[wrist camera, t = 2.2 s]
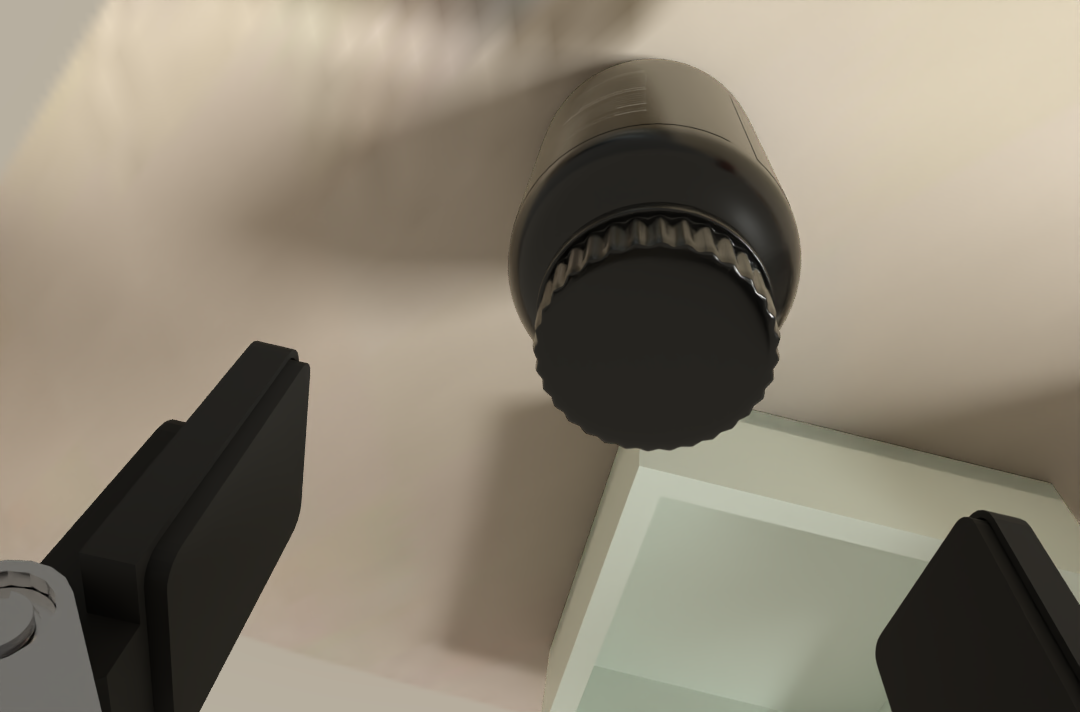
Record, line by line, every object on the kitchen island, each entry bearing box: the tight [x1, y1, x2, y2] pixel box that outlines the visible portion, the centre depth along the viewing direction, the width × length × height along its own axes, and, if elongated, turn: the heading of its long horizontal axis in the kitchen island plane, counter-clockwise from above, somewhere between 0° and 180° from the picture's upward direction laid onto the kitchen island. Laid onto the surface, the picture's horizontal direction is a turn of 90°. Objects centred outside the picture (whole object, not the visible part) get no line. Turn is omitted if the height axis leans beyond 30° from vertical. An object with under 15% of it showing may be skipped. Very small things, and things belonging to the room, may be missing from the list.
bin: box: [542, 410, 1080, 712], centre depth 32 cm, size 16×16×5 cm
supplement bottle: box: [508, 59, 801, 451], centre depth 20 cm, size 7×7×12 cm
